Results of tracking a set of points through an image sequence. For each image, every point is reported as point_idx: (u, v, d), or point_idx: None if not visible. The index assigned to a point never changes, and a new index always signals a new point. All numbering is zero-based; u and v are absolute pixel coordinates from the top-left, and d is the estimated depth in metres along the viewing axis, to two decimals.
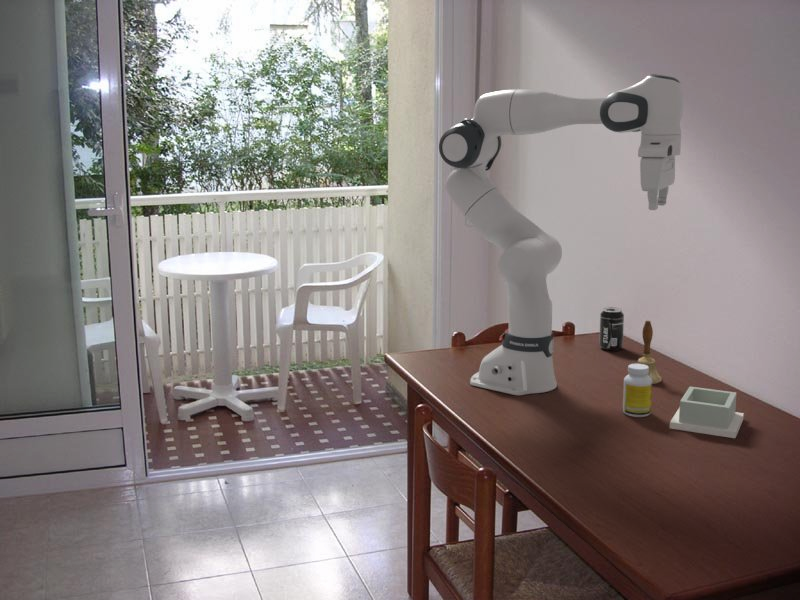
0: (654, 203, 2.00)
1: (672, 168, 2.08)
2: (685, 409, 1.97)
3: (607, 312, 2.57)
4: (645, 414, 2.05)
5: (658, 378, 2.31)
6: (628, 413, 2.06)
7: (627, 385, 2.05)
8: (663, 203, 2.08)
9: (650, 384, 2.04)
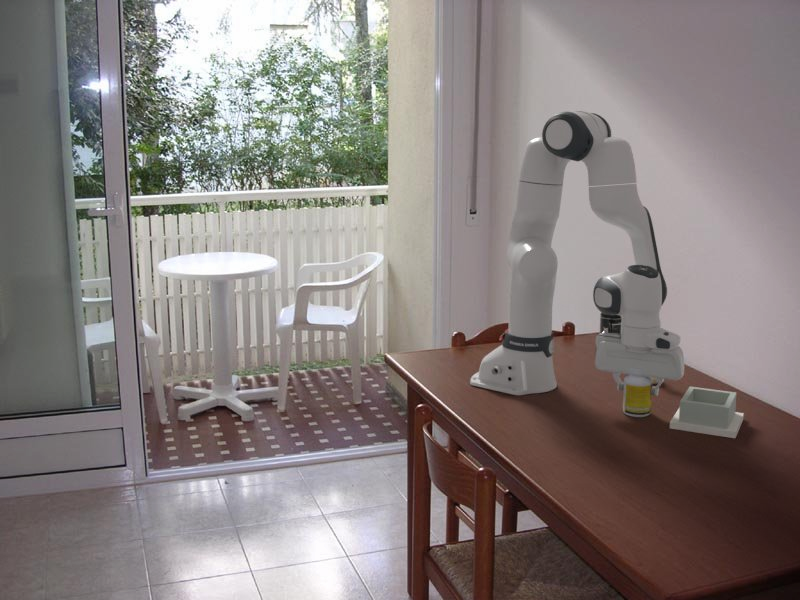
0: (658, 388, 2.05)
1: None
2: (685, 409, 1.97)
3: None
4: (645, 414, 2.05)
5: None
6: (628, 413, 2.06)
7: (627, 385, 2.05)
8: None
9: (651, 383, 2.04)
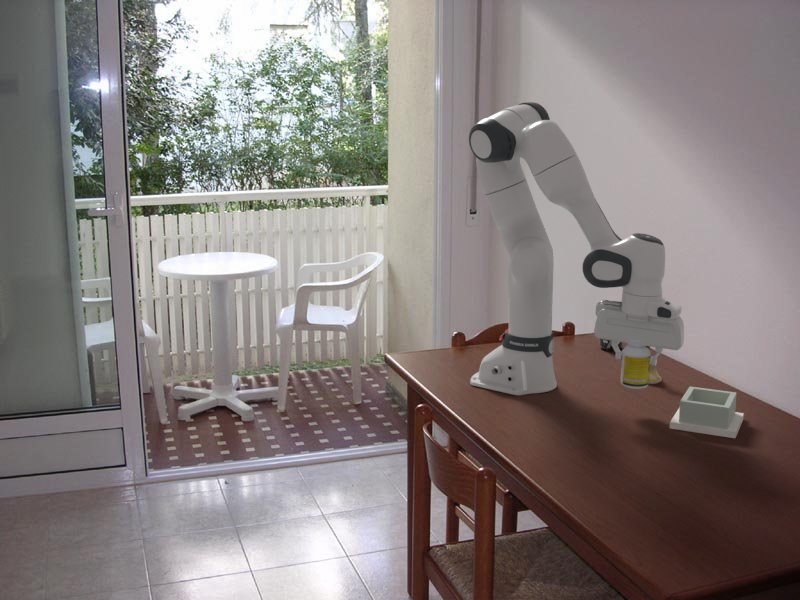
0: (656, 358, 2.04)
1: None
2: (685, 409, 1.97)
3: None
4: (643, 386, 2.04)
5: (658, 378, 2.31)
6: (626, 385, 2.05)
7: (625, 356, 2.04)
8: None
9: (649, 355, 2.04)
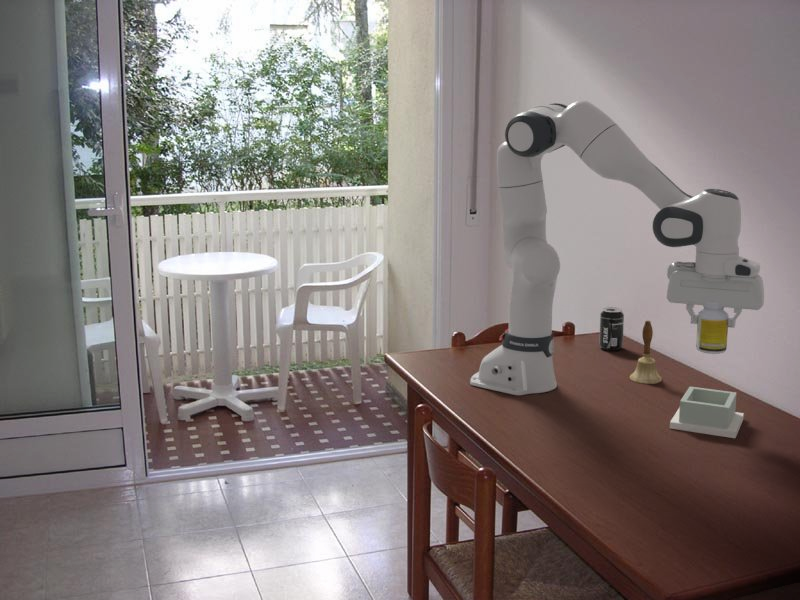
0: (735, 320, 1.93)
1: None
2: (685, 409, 1.97)
3: (607, 312, 2.57)
4: (721, 351, 1.94)
5: (658, 378, 2.31)
6: (703, 350, 1.95)
7: (702, 320, 1.94)
8: None
9: (727, 318, 1.93)
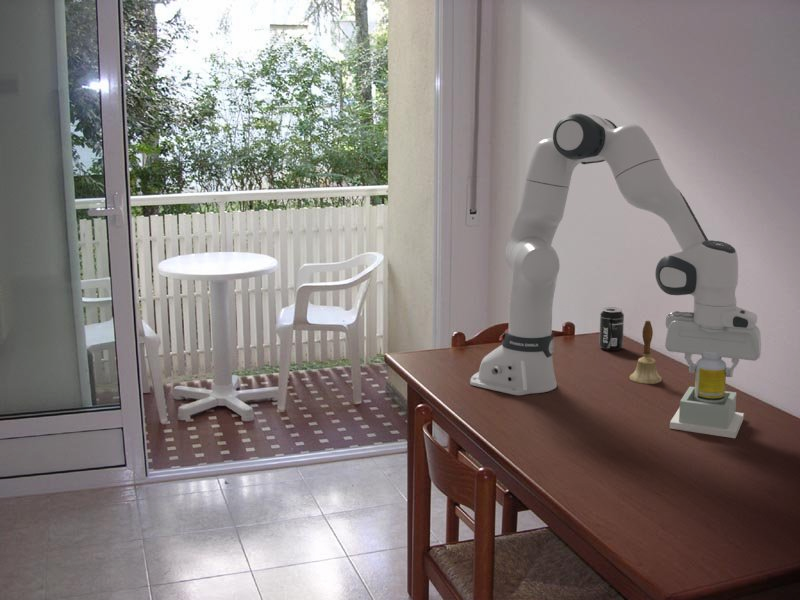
0: None
1: None
2: (685, 409, 1.97)
3: (607, 312, 2.57)
4: (719, 399, 1.97)
5: (658, 378, 2.31)
6: (701, 399, 1.97)
7: (700, 369, 1.97)
8: None
9: (725, 368, 1.96)
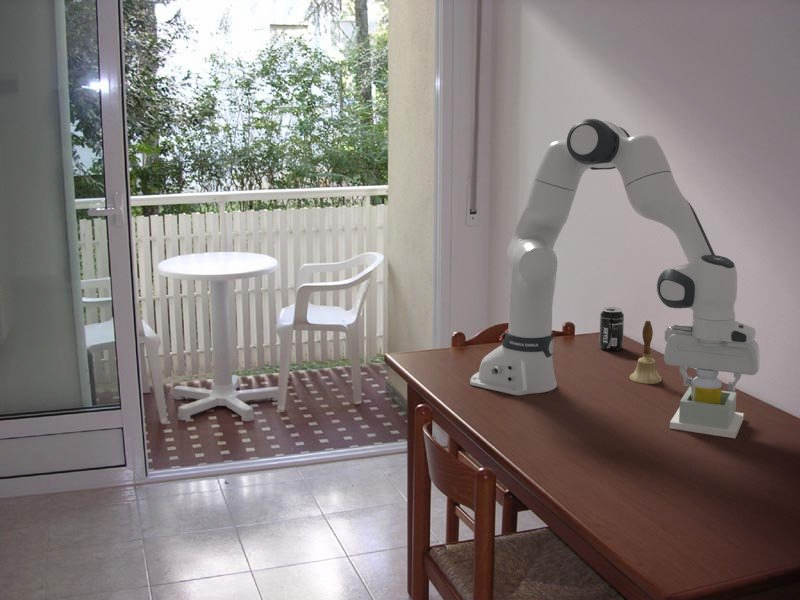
0: (735, 384, 1.96)
1: None
2: (685, 409, 1.97)
3: (607, 312, 2.57)
4: None
5: (658, 378, 2.31)
6: None
7: (696, 388, 1.98)
8: (691, 382, 2.01)
9: (721, 386, 1.97)
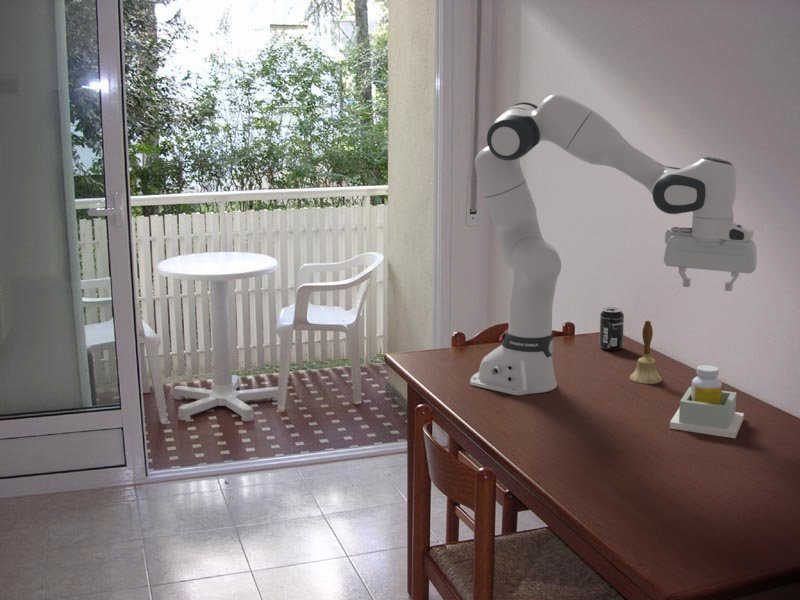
0: (732, 284, 2.02)
1: None
2: (685, 409, 1.97)
3: (607, 312, 2.57)
4: None
5: (658, 378, 2.31)
6: None
7: (696, 388, 1.98)
8: None
9: (721, 386, 1.97)
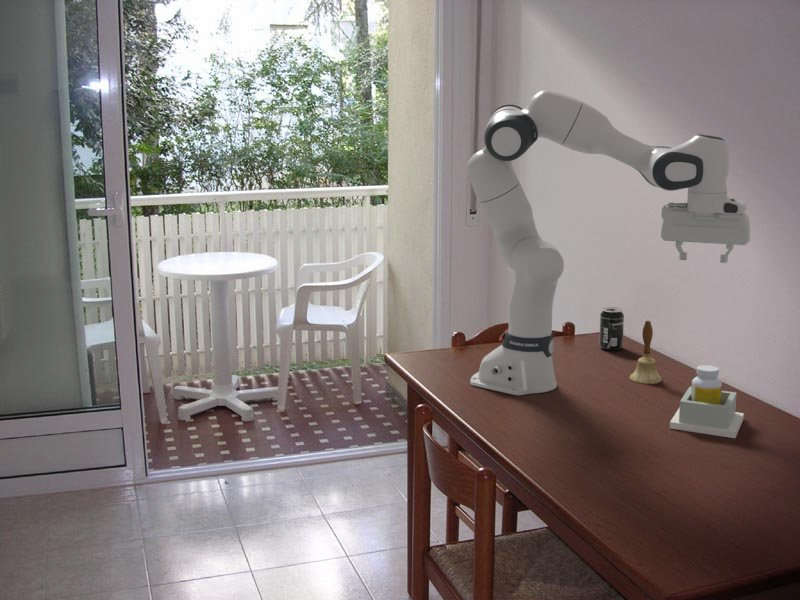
0: (727, 256, 2.10)
1: None
2: (685, 409, 1.97)
3: (607, 312, 2.57)
4: None
5: (658, 378, 2.31)
6: None
7: (696, 388, 1.98)
8: (686, 257, 2.14)
9: (721, 386, 1.97)
